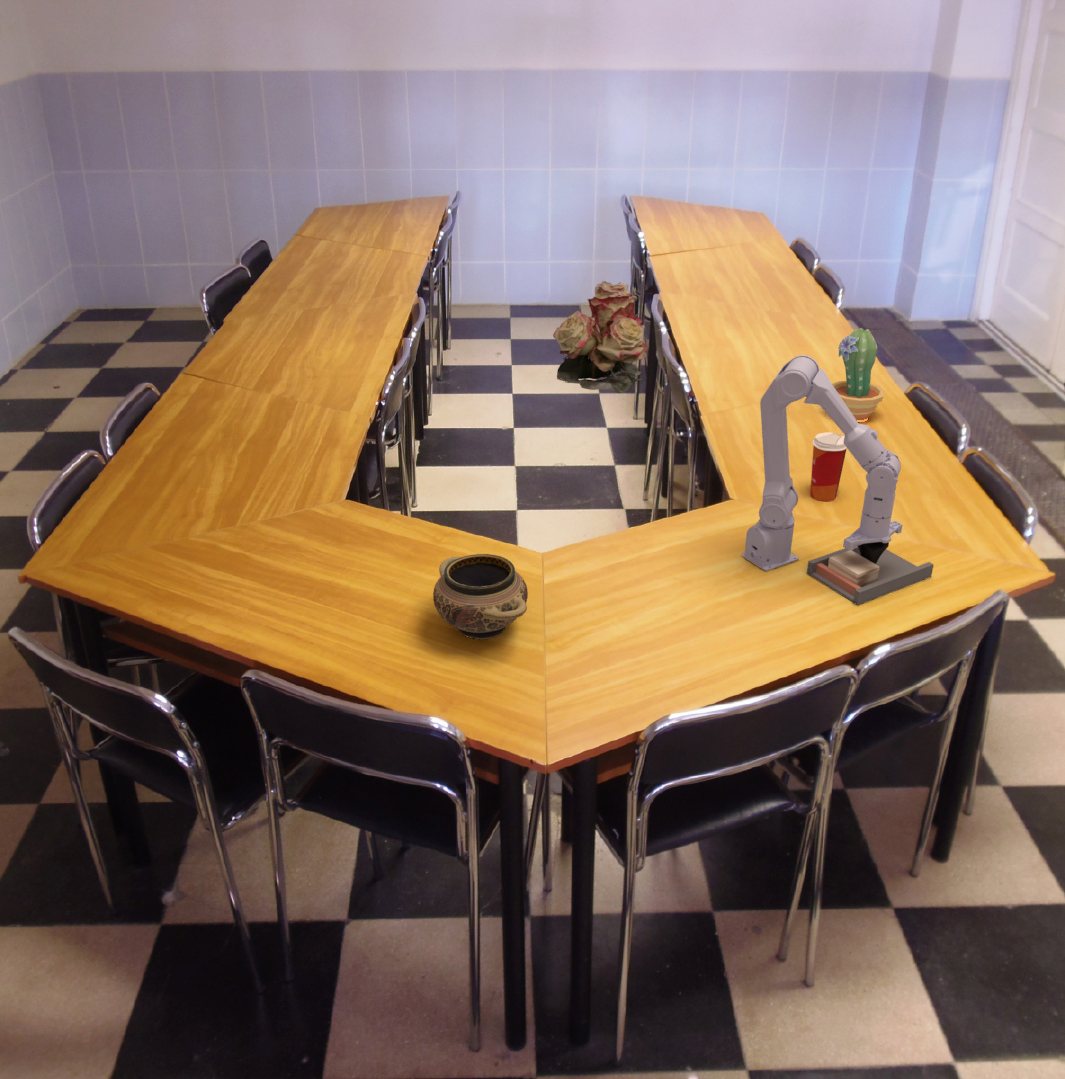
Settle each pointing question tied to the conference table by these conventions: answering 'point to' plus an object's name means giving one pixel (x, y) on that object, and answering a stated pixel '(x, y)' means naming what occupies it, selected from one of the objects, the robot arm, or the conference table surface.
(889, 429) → the conference table surface
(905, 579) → the bay
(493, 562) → the ceramic bowl
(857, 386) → the potted cactus
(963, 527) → the conference table surface
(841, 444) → the coffee cup
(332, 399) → the conference table surface
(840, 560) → the tan layered slab
